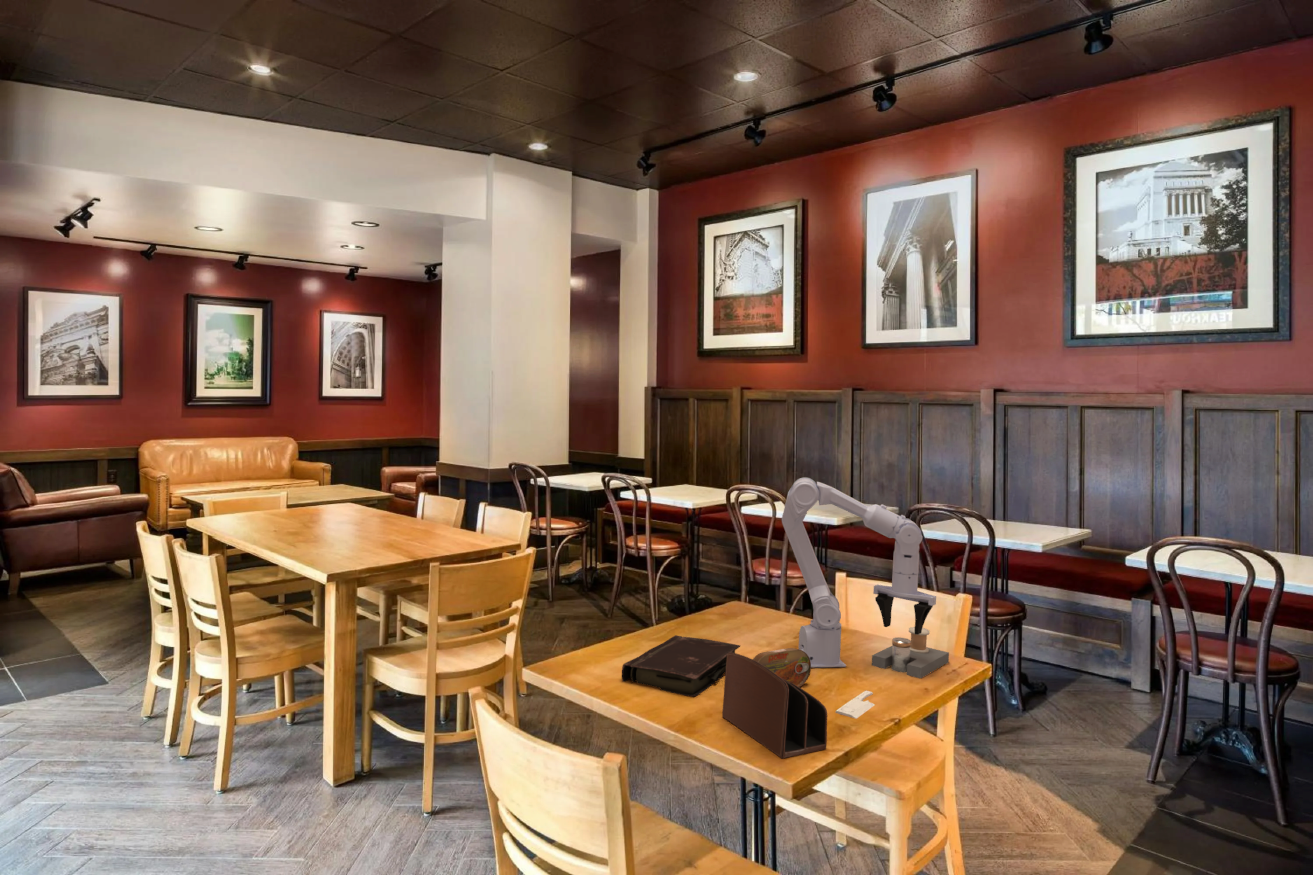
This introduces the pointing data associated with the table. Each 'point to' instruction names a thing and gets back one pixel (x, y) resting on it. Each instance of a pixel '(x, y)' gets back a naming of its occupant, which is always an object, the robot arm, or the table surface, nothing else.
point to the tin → (787, 664)
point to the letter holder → (772, 709)
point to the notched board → (915, 656)
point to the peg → (900, 654)
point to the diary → (680, 665)
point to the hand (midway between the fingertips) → (902, 629)
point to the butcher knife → (856, 706)
